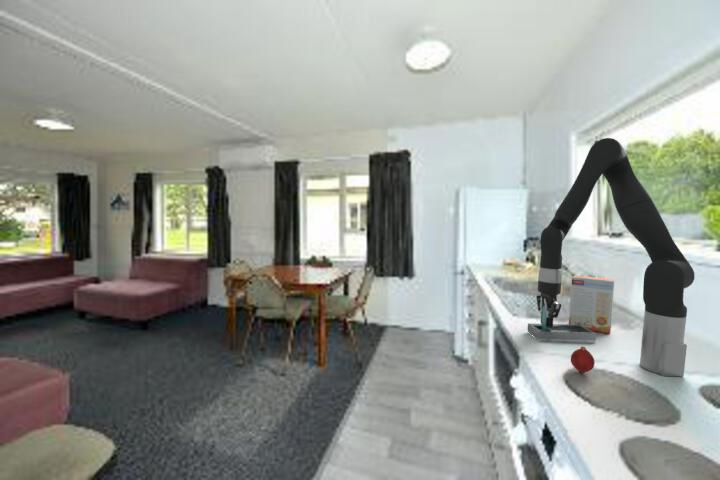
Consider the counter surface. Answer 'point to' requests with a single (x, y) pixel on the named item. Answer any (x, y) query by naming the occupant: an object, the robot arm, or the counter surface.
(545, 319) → the peg
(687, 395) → the counter surface
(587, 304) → the cracker box
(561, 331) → the grey rectangular tray
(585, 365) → the onion
